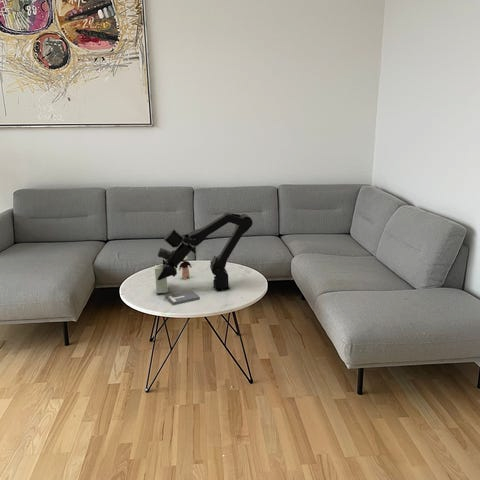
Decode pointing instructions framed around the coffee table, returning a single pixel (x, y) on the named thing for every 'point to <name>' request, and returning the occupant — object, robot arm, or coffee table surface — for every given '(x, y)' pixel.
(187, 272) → the grandmother figurine
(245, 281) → the coffee table surface
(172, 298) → the board
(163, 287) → the sage block
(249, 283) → the coffee table surface
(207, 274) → the coffee table surface
